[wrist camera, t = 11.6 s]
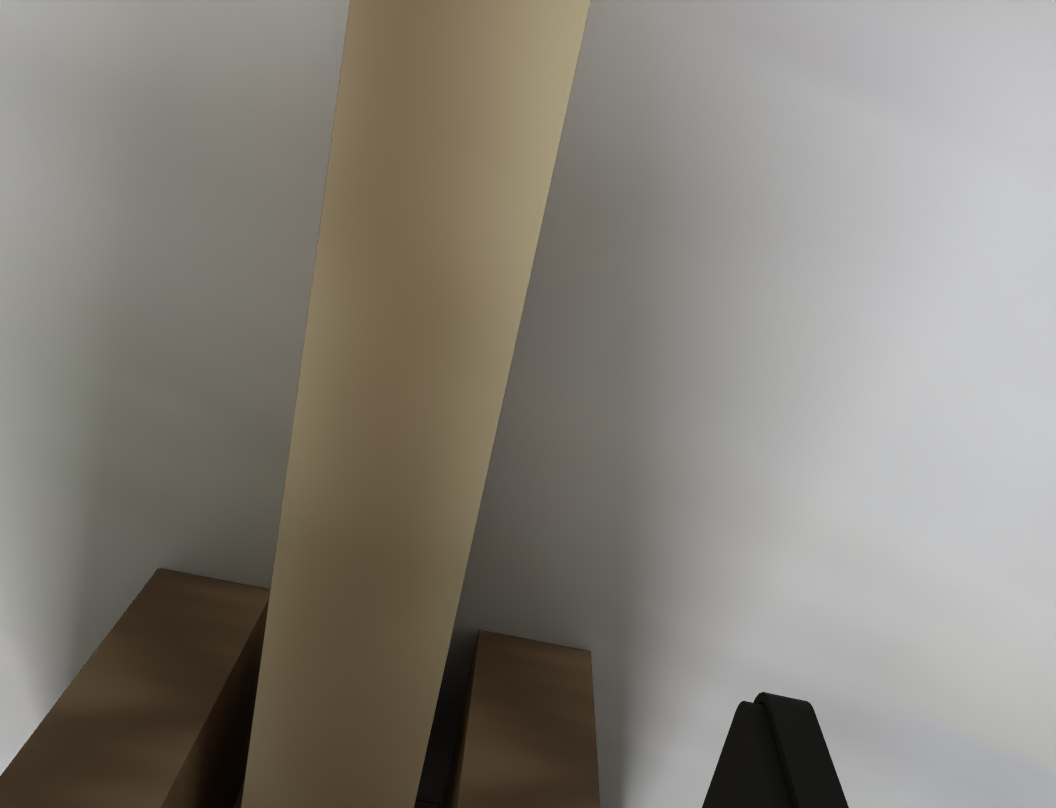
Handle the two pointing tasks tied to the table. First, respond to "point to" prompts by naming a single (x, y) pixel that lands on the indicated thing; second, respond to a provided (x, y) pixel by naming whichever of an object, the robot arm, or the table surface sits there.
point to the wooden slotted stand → (229, 700)
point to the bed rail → (402, 382)
